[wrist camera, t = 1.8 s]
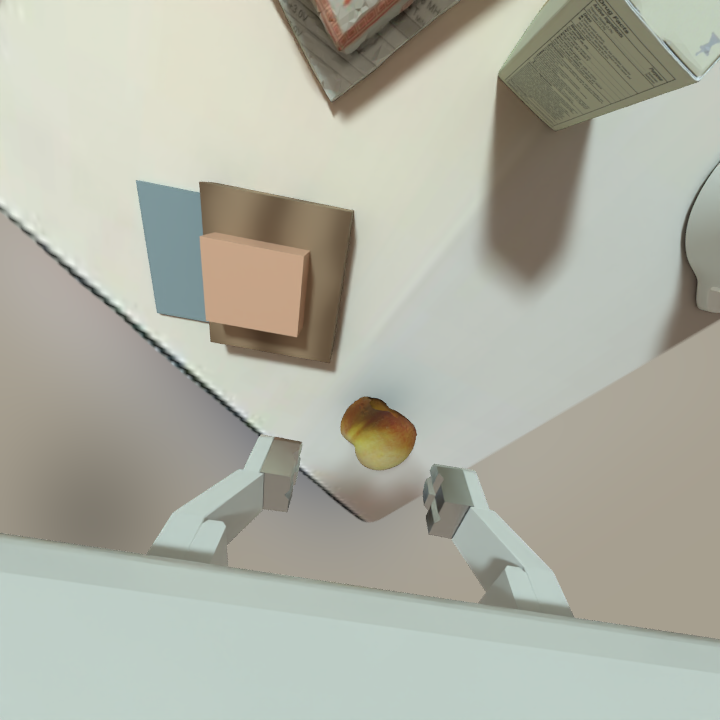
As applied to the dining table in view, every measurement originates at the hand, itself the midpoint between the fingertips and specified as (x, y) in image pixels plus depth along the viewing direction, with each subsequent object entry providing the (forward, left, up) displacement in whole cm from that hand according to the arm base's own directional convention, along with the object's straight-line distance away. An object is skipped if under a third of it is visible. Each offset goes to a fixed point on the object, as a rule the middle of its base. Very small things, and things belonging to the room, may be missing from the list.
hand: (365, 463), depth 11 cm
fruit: (-3, +13, -21) cm, 26 cm away
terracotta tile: (+10, 0, -19) cm, 21 cm away
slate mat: (+18, 0, -21) cm, 28 cm away
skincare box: (-9, -18, -21) cm, 29 cm away
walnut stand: (+9, 0, -21) cm, 23 cm away
